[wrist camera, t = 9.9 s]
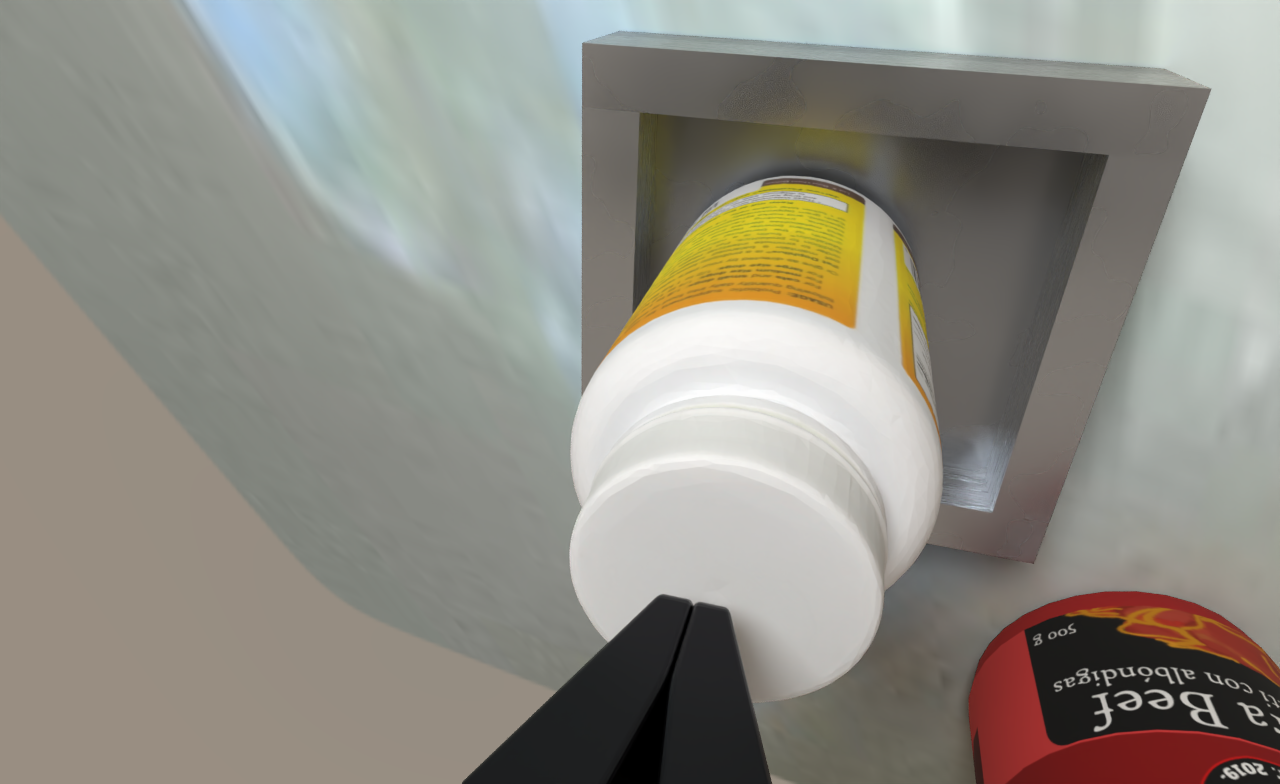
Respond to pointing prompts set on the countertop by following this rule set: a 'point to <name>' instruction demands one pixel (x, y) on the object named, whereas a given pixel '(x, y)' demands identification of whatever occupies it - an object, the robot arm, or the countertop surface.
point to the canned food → (1125, 697)
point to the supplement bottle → (765, 433)
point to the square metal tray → (911, 219)
